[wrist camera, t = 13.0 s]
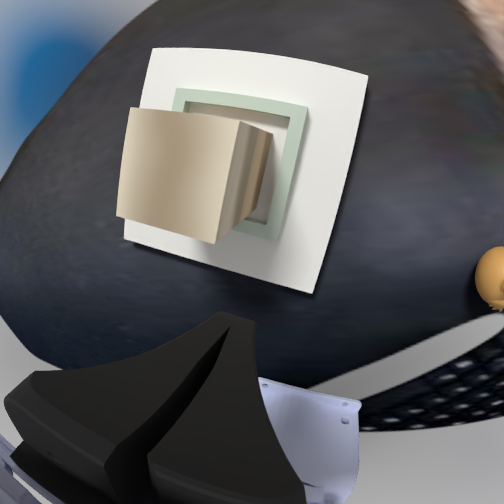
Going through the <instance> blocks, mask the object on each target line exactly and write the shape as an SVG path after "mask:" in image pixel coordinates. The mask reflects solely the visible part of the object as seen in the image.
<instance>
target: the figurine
mask: <svg viewBox="0 0 504 504" xmlns="http://www.w3.org/2000/svg"><path fill="white" fill-rule="evenodd" d="M475 283H476V288H477V290H478V293H479V294H480V296H481V297H482V299H483V300H484V301H486V302H487V303H488V304H490V305H489V306H490V307H494V308H492V310H496V309H499V310H500V312H501V311H502V309H503V308H504V247H495V248H492V249H490V250H488V251H487V252H486V253H485V254H484V255H483V256H482V257H481V259H480V260H479V262H478V264H477V267H476V272H475Z"/></svg>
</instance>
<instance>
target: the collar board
mask: <svg viewBox="0 0 504 504" xmlns="http://www.w3.org/2000/svg"><path fill="white" fill-rule="evenodd" d="M367 80H368V76H367V75H363V74H360V73H356V72H353V71H349V70H345V69H341V68H337V67H333V66H329V65H325V64H320V63H315V62H311V61H306V60H300V59H295V58H289V57H283V56H277V55H270V54H263V53H255V52H246V51H235V50H223V49H205V48H153V50H152V54H151V58H150V62H149V66H148V70H147V74H146V79H145V83H144V88H143V92H142V97H141V102H140V108H145V109H157V110H167V111H176V112H184V113H192V114H200V115H207V116H213V117H220V118H226V119H232V120H237V121H241V122H244V123H247V124H249V125H252V126H254V127H257V128H260V129H262V130H265V131H267V132H270V133H272V134H273V137H272V141H271V145H270V150H269V154H268V158H267V163H266V167H265V172H264V176H263V180H262V185H261V189H260V194H259V198H258V202H257V207H256V209H255V210H254V211H252V212H251V213H250V214H249V215H248V216H247V217H245V218H244V219H243V220H242V221H241V222H240V223H239V224H237V225H236V226H235V227H234V228H233V229H232V230H231V231H229V232H228V233H227V234H226V235H225V236H224V237H223V238H221V239H220V240H219V241H218V242H217V243H216V244H212V243H208V242H205V241H201V240H198V239H195V238H191V237H188V236H184V235H181V234H177V233H174V232H170V231H167V230H163V229H160V228H157V227H153V226H150V225H146V224H143V223H139V222H136V221H132V220H129V219H126V218H125V229H124V239H127V240H130V241H133V242H137V243H140V244H143V245H146V246H150V247H153V248H156V249H159V250H163V251H166V252H169V253H172V254H176V255H179V256H182V257H186V258H189V259H192V260H196V261H199V262H202V263H206V264H209V265H213V266H216V267H219V268H223V269H226V270H230V271H233V272H237V273H240V274H244V275H247V276H251V277H254V278H258V279H261V280H265V281H268V282H272V283H275V284H279V285H282V286H286V287H290V288H293V289H297V290H301V291H304V292H308V293H313V290H314V287H315V284H316V280H317V277H318V274H319V271H320V268H321V265H322V261H323V258H324V255H325V251H326V248H327V245H328V241H329V238H330V235H331V231H332V228H333V224H334V221H335V217H336V213H337V210H338V206H339V202H340V199H341V195H342V191H343V187H344V183H345V180H346V176H347V172H348V168H349V164H350V159H351V155H352V151H353V147H354V143H355V138H356V134H357V129H358V125H359V120H360V115H361V111H362V106H363V101H364V96H365V91H366V86H367Z"/></svg>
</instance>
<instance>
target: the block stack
mask: <svg viewBox="0 0 504 504" xmlns="http://www.w3.org/2000/svg"><path fill="white" fill-rule="evenodd" d="M272 137H273V134H272V133H270V132H267V131H265V130H262V129H260V128H257V127H254V126H252V125H249V124H247V123H244V122H241V121H237V120H232V119H226V118H220V117H213V116H207V115H200V114H192V113H184V112H176V111H167V110H157V109H145V108H130V114H129V119H128V125H127V130H126V136H125V143H124V149H123V157H122V164H121V172H120V181H119V190H118V201H117V213H116V216H119V217H122V218H126V219H129V220H132V221H136V222H139V223H143V224H146V225H150V226H153V227H157V228H160V229H163V230H167V231H170V232H174V233H177V234H181V235H184V236H188V237H191V238H195V239H198V240H201V241H205V242H208V243H212V244H216V243H217V242H218V241H219V240H220V239H221V238H223V237H224V236H225V235H226V234H227V233H228V232H229V231H231V230H232V229H233V228H234V227H235V226H236V225H237V224H239V223H240V222H241V221H242V220H243V219H244V218H245V217H247V216H248V215H249V214H250V213H251V212H252V211H254V210H255V209H256V207H257V202H258V198H259V194H260V189H261V185H262V180H263V176H264V172H265V167H266V163H267V158H268V154H269V150H270V145H271V141H272Z"/></svg>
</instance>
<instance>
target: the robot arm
mask: <svg viewBox="0 0 504 504" xmlns="http://www.w3.org/2000/svg"><path fill="white" fill-rule="evenodd" d="M257 326H258V325H257V323H256V322H255V321H252V320H249V319H246V318H242V317H239V316H236V315H232V314H229V313H226V312H223V311H220V312H218V313H216V314H215V315H213V316H212V317H211V318H209V319H208V320H206V321H205V322H203V323H201V324H200V325H198V326H197V327H195V328H193V329H192V330H190V331H188V332H187V333H185V334H183V335H181V336H180V337H178V338H176V339H174V340H172V341H170V342H168V343H166V344H164V345H162V346H160V347H158V348H155V349H153V350H151V351H148V352H146V353H143V354H140V355H138V356H135V357H132V358H128V359H124V360H121V361H117V362H113V363H109V364H105V365H100V366H94V367H88V368H81V369H72V370H55V371H54V370H53V371H34V372H33V373H32V374H30V375H29V376H28V377H27V378H26V379H25V380H23V381H22V382H21V383H20V384H19V385H18V386H17V387H16V388H15V389H14V390H12V391H11V392H10V393H9V394H8V395H7V396H6V397H5V398H4V406H5V409H6V411H7V413H8V415H9V417H10V419H11V421H12V422H13V424H14V426H15V427H16V429H17V431H18V432H19V434H20V435H21V437H22V438H23V440H24V441H22V443H21V444H20V445H19V446H18V447H17V448H15V447H13V446H12V445H11V444H10V443H9V442H8V441H7V440H6V439H5V438H4V437H3V436H1V434H0V504H41V503H40V502H39V501H38V500H37V499H36V498H35V497H34V496H33V495H32V494H31V493H30V492H29V491H28V490H27V489H26V488H25V487H23V485H21V484H20V483H19V482H18V481H17V480H16V479H15V478H14V477H13V472H15V473H16V474H17V475H18V476H19V477H20V478H21V479H22V480H24V481H25V482H26V483H27V484H28V485H30V486H31V487H32V488H33V489H34V490H36V491H37V492H38V493H39V494H41V495H42V496H43V497H45V498H46V499H47V500H49V501H50V502H51V503H53V504H342V503H343V502H344V501H345V500H346V499H347V498H348V496H349V495H350V493H351V491H352V489H353V487H354V484H355V481H356V478H357V473H358V468H359V427H358V411H359V409H360V408H361V402H360V401H358V400H354V399H348V398H343V397H338V396H334V395H329V394H324V393H319V392H315V391H311V390H307V389H303V388H299V387H295V386H291V385H287V384H283V383H279V382H276V381H272V380H268V379H265V378H261V377H258V374H257V367H256V357H255V333H256V330H257ZM265 384H267V385H265ZM344 403H346V404H344ZM12 471H13V472H12Z"/></svg>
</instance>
